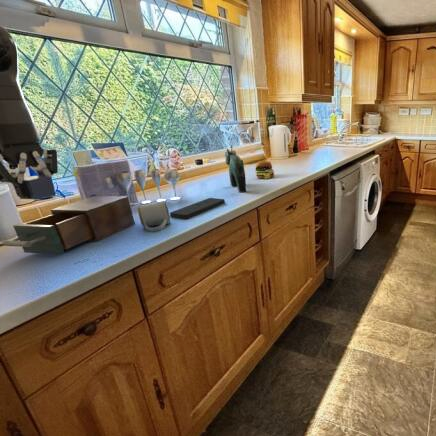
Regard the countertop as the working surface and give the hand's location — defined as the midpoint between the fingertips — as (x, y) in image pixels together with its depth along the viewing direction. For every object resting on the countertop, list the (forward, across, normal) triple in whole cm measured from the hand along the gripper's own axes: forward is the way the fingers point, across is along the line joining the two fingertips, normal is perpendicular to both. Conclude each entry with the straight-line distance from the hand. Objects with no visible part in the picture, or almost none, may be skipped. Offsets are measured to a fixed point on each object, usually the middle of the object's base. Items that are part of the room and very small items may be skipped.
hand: (37, 195), depth 73 cm
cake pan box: (+17, -42, -24) cm, 51 cm away
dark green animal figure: (+17, -74, +15) cm, 77 cm away
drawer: (+16, -4, -5) cm, 17 cm away
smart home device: (+17, -41, +15) cm, 46 cm away
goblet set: (+17, -48, -14) cm, 53 cm away
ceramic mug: (+17, -24, +10) cm, 31 cm away
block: (0, 0, 0) cm, 0 cm away
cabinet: (+17, -17, -6) cm, 25 cm away
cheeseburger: (+17, -98, +18) cm, 101 cm away
